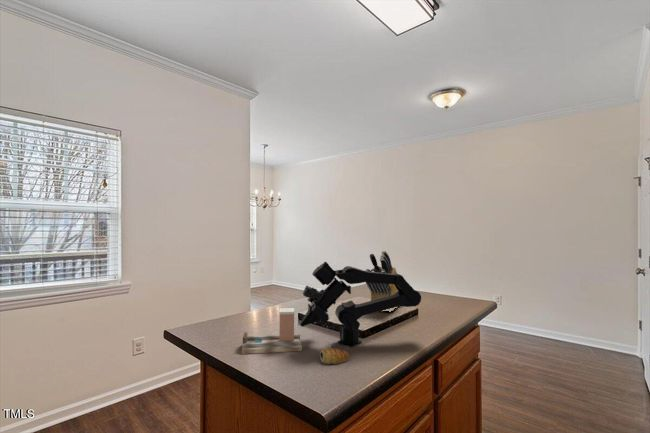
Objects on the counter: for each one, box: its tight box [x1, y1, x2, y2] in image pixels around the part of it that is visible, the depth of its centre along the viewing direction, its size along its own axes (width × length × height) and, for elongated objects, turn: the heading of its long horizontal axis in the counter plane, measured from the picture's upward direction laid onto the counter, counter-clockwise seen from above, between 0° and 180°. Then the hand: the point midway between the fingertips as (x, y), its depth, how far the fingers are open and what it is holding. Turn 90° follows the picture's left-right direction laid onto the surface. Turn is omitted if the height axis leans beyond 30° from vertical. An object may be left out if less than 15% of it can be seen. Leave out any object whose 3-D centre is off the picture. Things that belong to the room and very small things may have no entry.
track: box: [241, 332, 302, 355], centre depth 114 cm, size 20×10×4 cm, turn 98°
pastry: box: [319, 347, 350, 365], centre depth 103 cm, size 9×7×4 cm
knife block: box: [365, 250, 398, 301], centre depth 167 cm, size 11×35×31 cm, turn 152°
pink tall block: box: [278, 307, 295, 342], centre depth 114 cm, size 5×5×11 cm
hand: (301, 325), depth 115 cm, fingers closed
